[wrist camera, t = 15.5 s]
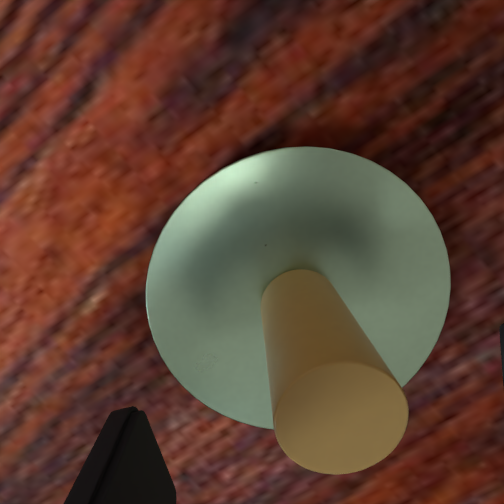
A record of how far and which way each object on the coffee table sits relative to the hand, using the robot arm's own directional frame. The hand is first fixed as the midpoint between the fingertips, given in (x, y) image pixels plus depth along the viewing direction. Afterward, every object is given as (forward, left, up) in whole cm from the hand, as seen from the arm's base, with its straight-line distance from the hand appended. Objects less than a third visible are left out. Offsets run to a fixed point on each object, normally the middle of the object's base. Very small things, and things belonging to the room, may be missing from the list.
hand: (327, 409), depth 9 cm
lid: (0, 0, -6) cm, 6 cm away
